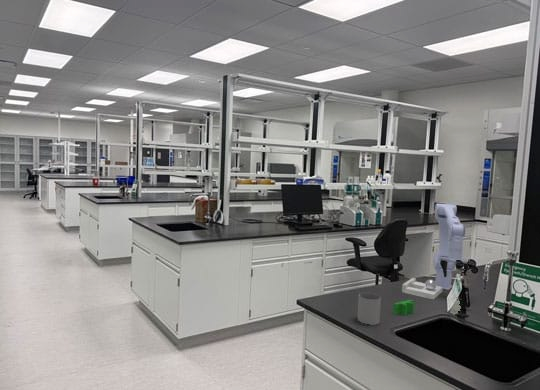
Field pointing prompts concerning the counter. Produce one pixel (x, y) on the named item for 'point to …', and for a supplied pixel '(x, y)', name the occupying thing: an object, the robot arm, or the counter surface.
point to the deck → (420, 289)
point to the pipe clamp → (404, 307)
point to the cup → (369, 308)
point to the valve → (456, 307)
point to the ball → (430, 284)
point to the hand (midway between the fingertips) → (454, 278)
